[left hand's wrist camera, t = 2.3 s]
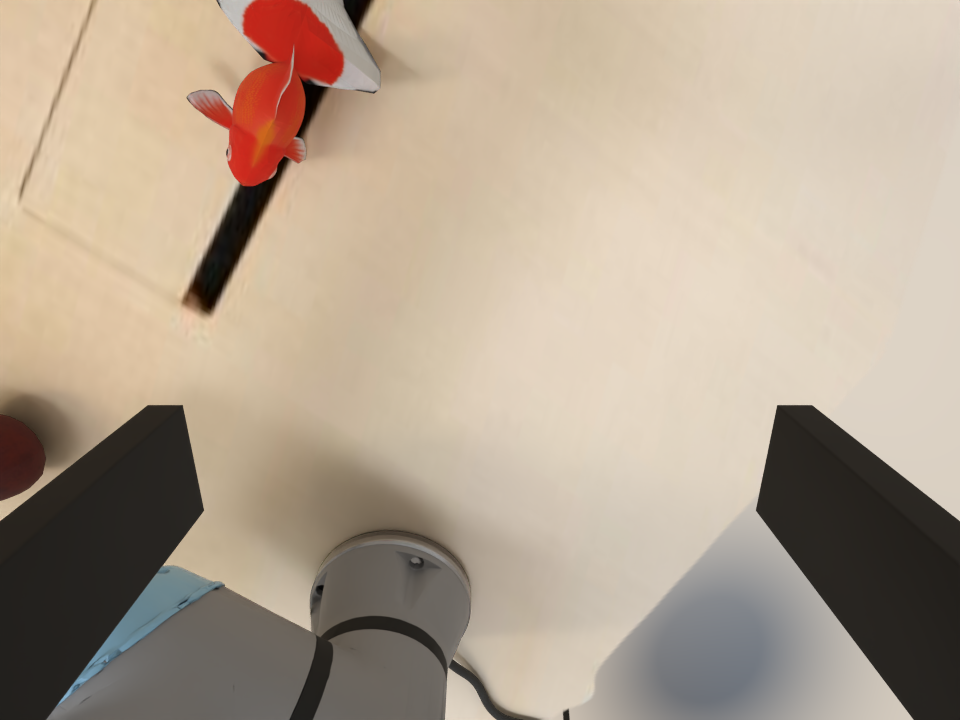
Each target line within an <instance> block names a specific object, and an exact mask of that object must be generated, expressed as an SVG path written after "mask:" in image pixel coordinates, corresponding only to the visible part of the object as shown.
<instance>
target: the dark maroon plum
mask: <svg viewBox="0 0 960 720" xmlns="http://www.w3.org/2000/svg"><path fill="white" fill-rule="evenodd" d="M45 460H46V457H45V453H44V449H43V446H42V444H41V443H40V441H39V440H38V438H37V436H36V435H35V434H34V433H33V432H32V431H31V430H30V429H29V428H28V427H27V426H26V425H25V424H24V423H23V422H20V421H18V420H16V419H14V418H12V417H10V416H5V415H1V414H0V501H2V500H5V499H8V498H10V497H13V496H15V495H18V494H20V493H22V492H23V491H25V490H27V489H29V488H30V487H31V486H32V485H33V484H34V483H35V482H36V481H37V480H38V479H39V478H40V477H41V476H42V474H43V471H44V465H45Z"/></svg>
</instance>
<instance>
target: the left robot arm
mask: <svg viewBox="0 0 960 720" xmlns="http://www.w3.org/2000/svg"><path fill="white" fill-rule="evenodd" d="M203 511H204V508H203V503H202V498H201V493H200V488H199V483H198V478H197V473H196V469H195V464H194V459H193V454H192V449H191V444H190V439H189V434H188V429H187V424H186V419H185V414H184V410H183V405H148V406H146V407H145V408H144V409H143V410H141V411H140V412H139V413H138V414H136V415H135V416H134V417H132V418H131V419H130V420H129V421H127V422H126V423H125V424H124V425H122V426H121V427H120V428H118V429H117V430H116V431H115V432H113V433H112V434H111V435H109V436H108V437H107V438H106V439H104V440H103V441H102V442H101V443H99V444H98V445H97V446H95V447H94V448H93V449H92V450H90V451H89V452H88V453H87V454H85V455H84V456H83V457H81V458H80V459H79V460H78V461H76V462H75V463H74V464H73V465H71V466H70V467H69V468H67V469H66V470H65V471H64V472H62V473H61V474H60V475H59V476H57V477H56V478H55V479H53V480H52V481H51V482H50V483H48V484H47V485H46V486H45V487H43V488H42V489H41V490H39V491H38V492H37V493H36V494H34V495H33V496H32V497H31V498H29V499H28V500H27V501H25V502H24V503H23V504H22V505H20V506H19V507H18V508H16V509H15V510H14V511H13V512H11V513H10V514H9V515H8V516H6V517H5V518H4V519H2V520H1V521H0V720H445V707H446V688H447V671H448V667H449V668H450V669H451V670H453V671H454V672H455V673H457V674H458V675H460V676H462V677H463V678H465V679H466V680H468V681H469V682H470V683H471V684H472V685H473V686H474V688H475V689H476V691H477V693H478V695H479V697H480V699H481V701H482V703H483V705H484V707H485V708H486V709H487V711H488V712H489V713H490V714H491V715H492V716H493V717H494V718H495V719H497V720H522V719H517V718H513V717H510V716H507V715H505V714H503V713H502V712H500V711H499V710H497V709H496V708H495V707H494V705H493V704H492V703H491V701H490V699H489V697H488V695H487V693H486V691H485V689H484V687H483V685H482V684H481V682H480V681H479V680H478V678H477V677H476V676H475V675H474V674H473V673H471V672H470V671H469V670H467V669H466V668H464V667H463V666H461V665H459V664H458V663H457V662H455V661H454V660H453V656H454V654H455V652H456V649H457V647H458V645H459V642H460V640H461V638H462V636H463V634H464V633H465V631H466V628H467V626H468V623H469V619H470V604H471V591H470V585H469V581H468V578H467V576H466V573H465V571H464V570H463V568H462V566H461V565H460V563H459V562H458V561H457V560H456V558H455V557H454V556H453V555H452V554H451V553H450V552H448V551H447V550H446V549H445V548H443V547H442V546H440V545H439V544H437V543H435V542H433V541H431V540H429V539H427V538H425V537H422V536H419V535H416V534H412V533H407V532H401V531H376V532H370V533H366V534H362V535H359V536H356V537H354V538H351V539H349V540H347V541H346V542H344V543H342V544H341V545H339V546H338V547H336V548H335V549H334V550H333V551H332V552H331V553H330V554H329V555H328V556H327V557H326V559H325V560H324V561H323V563H322V565H321V567H320V569H319V571H318V574H317V576H316V579H315V582H314V584H313V587H312V590H311V595H310V609H311V629H312V632H310V631H308V630H306V629H304V628H302V627H300V626H298V625H297V624H295V623H293V622H291V621H289V620H287V619H285V618H283V617H281V616H279V615H277V614H275V613H273V612H271V611H269V610H267V609H266V608H264V607H262V606H260V605H258V604H256V603H254V602H252V601H251V600H249V599H247V598H245V597H243V596H241V595H239V594H237V593H235V592H234V591H232V590H230V589H228V588H226V587H225V585H224V584H223V583H222V582H219V581H217V582H213V581H210V580H208V579H206V578H203V577H201V576H199V575H196V574H194V573H192V572H190V571H188V570H185V569H183V568H181V567H178V566H169V565H168V566H163V564H164V563H165V562H166V560H167V559H168V558H169V556H170V555H171V554H172V552H173V551H174V550H175V548H176V547H177V546H178V544H179V543H180V542H181V540H182V539H183V538H184V536H185V535H186V534H187V532H188V531H189V530H190V528H191V527H192V526H193V524H194V523H195V522H196V520H197V519H198V518H199V517H200V515H201V514H202V513H203ZM756 511H757V512H758V514H759V515H760V517H761V518H762V519H763V520H764V522H765V523H766V524H767V526H768V527H769V528H770V530H771V531H772V532H773V534H774V535H775V536H776V538H777V539H778V540H779V542H780V543H781V544H782V546H783V547H784V548H785V550H786V551H787V552H788V554H789V555H790V556H791V558H792V559H793V560H794V561H795V563H796V564H797V565H798V567H799V568H800V570H801V571H802V572H803V574H804V575H805V576H806V578H807V579H808V580H809V581H810V583H811V584H812V585H813V587H814V588H815V589H816V591H817V592H818V593H819V595H820V596H821V597H822V599H823V600H824V601H825V603H826V604H827V605H828V607H829V608H830V609H831V611H832V612H833V613H834V615H835V616H836V617H837V619H838V620H839V621H840V623H841V624H842V625H843V626H844V628H845V629H846V630H847V632H848V633H849V634H850V636H851V637H852V638H853V640H854V641H855V642H856V644H857V645H858V646H859V648H860V649H861V650H862V652H863V653H864V654H865V656H866V657H867V658H868V660H869V661H870V662H871V664H872V665H873V666H874V668H875V669H876V670H877V672H878V673H879V674H880V676H881V677H882V678H883V680H884V681H885V682H886V684H887V685H888V686H889V688H890V689H891V690H892V691H893V693H894V694H895V695H896V697H897V698H898V699H899V701H900V702H901V703H902V705H903V706H904V707H905V709H906V710H907V711H908V713H909V714H910V715H911V717H912V718H913V719H914V720H960V521H959V520H958V519H956V518H955V517H954V516H952V515H951V514H950V513H949V512H947V511H946V510H945V509H944V508H942V507H941V506H940V505H938V504H937V503H936V502H935V501H933V500H932V499H931V498H929V497H928V496H927V495H926V494H924V493H923V492H922V491H921V490H919V489H918V488H917V487H915V486H914V485H913V484H912V483H910V482H909V481H908V480H906V479H905V478H904V477H903V476H901V475H900V474H899V473H898V472H896V471H895V470H894V469H893V468H891V467H890V466H889V465H887V464H886V463H885V462H884V461H882V460H881V459H880V458H879V457H877V456H876V455H875V454H873V453H872V452H871V451H870V450H868V449H867V448H866V447H864V446H863V445H862V444H861V443H859V442H858V441H857V440H856V439H854V438H853V437H852V436H851V435H849V434H848V433H847V432H845V431H844V430H843V429H842V428H840V427H839V426H838V425H836V424H835V423H834V422H833V421H831V420H830V419H829V418H828V417H826V416H825V415H824V414H822V413H821V412H820V411H819V410H817V409H816V408H815V407H814V406H812V405H777V410H776V414H775V419H774V424H773V429H772V434H771V439H770V444H769V449H768V454H767V459H766V464H765V469H764V473H763V478H762V483H761V488H760V493H759V498H758V503H757V508H756ZM309 611H310V610H309ZM563 720H570V716H569V709H567V710H565V711H563Z"/></svg>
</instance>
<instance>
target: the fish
mask: <svg viewBox="0 0 960 720" xmlns="http://www.w3.org/2000/svg"><path fill="white" fill-rule="evenodd" d="M217 2H218V4H219V6H220V8H221V9H222V10H223V12H224V13H225V15H226V16H227V17H228V19H229V20H230V22H231V23H232V24H233V25H234V26H235V28H236V29H237V30H238V31H239V32H240V33H241V35H242V36H243V37H244V38H245V39H246V40H247V41H248V42H249V43H250V45H251V46H252V47H253V48H254V49H255V50H256V51H257V52H258V53H259V55H260V56H261V57H262V58H263V59H264V60H267V61H269V62H272V64H268V65H265V66H263V67H260V68H258V69H256V70H254V71H252V72H251V73H250V74H249V75H248V76H247V77H246V78H245V79H244V80H243V81H242V83H241V84H240V86H239V88H238V91H237V94H236V97H235V101H234V105H233V109H232V108H231V107H230V106H229V105H228V104H227V103H226V102H225V101H224V99H223V98H222V97H221V96H220V94H219V93H218V92H216V91H213V90H199V91H196V92H193V93H190V94H189V95H188V96H187V99H188V101H189V102H190V103H191V104H192V105H193V106H194V107H195V108H196V109H197V110H199V111H200V112H201V113H203V114H204V115H205V116H206V117H207V118H209V119H210V120H212V121H214V122H215V123H217V124H219V125H221V126H223V127H224V128H226V129H228V130H230V131H229V147H228V149H227V152H226V155H227V160H228V164H229V167H230V169H231V171H232V173H233V175H234V177H235V178H236V179H237V180H238V181H239V182H240V183H241V184H242V185H243V186H255V185H257V184H259V183H261V182H263V181H265V180H268V179H270V178H272V177H273V176H274V175H275V173H276V171H277V165H278V163H279V161H280V160H281V159H282V158H283V156H286V157H287V158H289V159H291V160H293V161H295V162H297V163H300V162H301V161H303V160H305V159H306V147H305V142H304V140H303V138H300V137H295V136H296V134H297V132H298V130H299V128H300V126H301V123H302V120H303V117H304V111H305V93H304V89H303V86H302V83H301V80H302V81H304V82H305V83H306V84H313V85H319V86H327V87H333V88H339V89H346V90H358V91H363V92H369V93H375V92H376V91H377V90H379V89H380V69H379V68H378V66H377V64H376V62H375V60H374V59H373V57H372V55H371V53H370V51H369V50H368V48H367V46H366V45H365V43H364V41H363V40H362V38H361V37H360V35H359V33H358V32H357V30H356V29H355V27H354V25H353V23H352V21H351V19H350V18H349V16H348V14H347V12H346V10H345V8H344V3H343V0H217ZM300 79H301V80H300Z"/></svg>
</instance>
